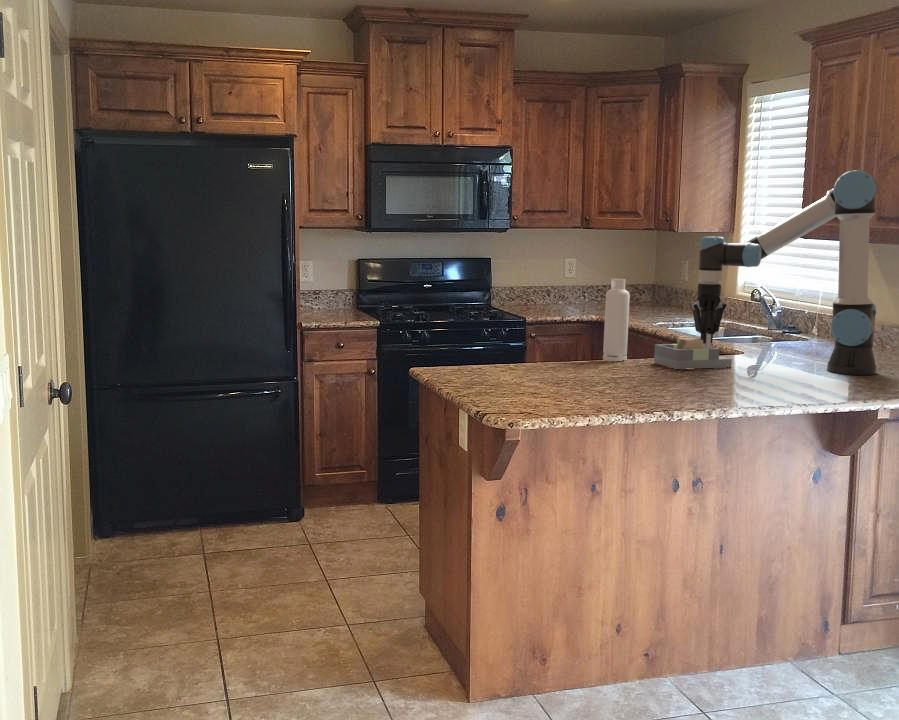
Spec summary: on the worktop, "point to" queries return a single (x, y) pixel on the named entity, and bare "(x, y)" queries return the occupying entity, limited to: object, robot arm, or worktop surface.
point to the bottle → (616, 321)
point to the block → (689, 343)
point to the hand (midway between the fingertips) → (705, 352)
